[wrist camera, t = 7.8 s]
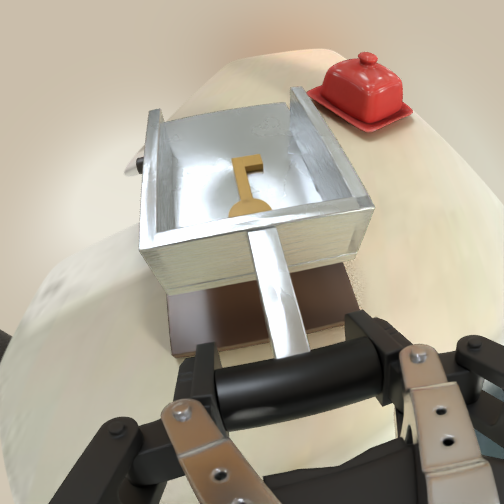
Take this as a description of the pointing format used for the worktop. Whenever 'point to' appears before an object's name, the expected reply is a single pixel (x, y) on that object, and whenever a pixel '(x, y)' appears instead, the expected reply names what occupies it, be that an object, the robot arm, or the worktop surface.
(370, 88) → the butter dish
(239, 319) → the stand
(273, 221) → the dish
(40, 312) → the worktop surface
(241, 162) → the key
